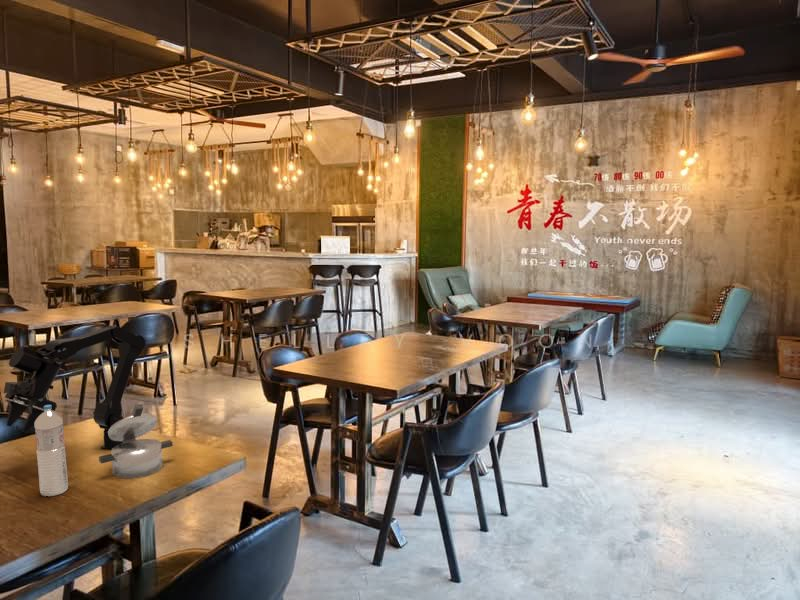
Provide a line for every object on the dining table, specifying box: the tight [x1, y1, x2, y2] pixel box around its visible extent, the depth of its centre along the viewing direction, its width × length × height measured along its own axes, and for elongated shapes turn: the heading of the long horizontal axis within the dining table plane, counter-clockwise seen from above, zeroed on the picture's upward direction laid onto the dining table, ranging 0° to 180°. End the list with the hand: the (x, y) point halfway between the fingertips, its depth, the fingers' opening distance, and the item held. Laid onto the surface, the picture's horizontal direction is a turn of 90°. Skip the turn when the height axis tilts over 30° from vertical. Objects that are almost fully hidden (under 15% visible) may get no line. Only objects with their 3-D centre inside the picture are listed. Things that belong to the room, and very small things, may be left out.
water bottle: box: [33, 405, 69, 497], centre depth 159 cm, size 7×7×25 cm
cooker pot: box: [98, 438, 174, 479], centre depth 176 cm, size 15×21×7 cm
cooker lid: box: [108, 403, 158, 441], centre depth 175 cm, size 18×14×2 cm
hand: (16, 428), depth 168 cm, fingers open, 9 cm apart
